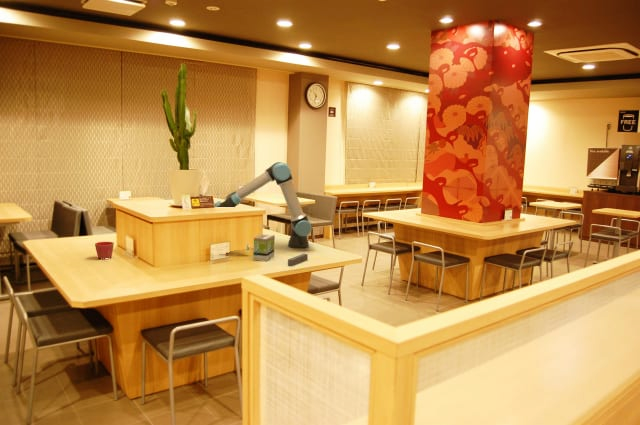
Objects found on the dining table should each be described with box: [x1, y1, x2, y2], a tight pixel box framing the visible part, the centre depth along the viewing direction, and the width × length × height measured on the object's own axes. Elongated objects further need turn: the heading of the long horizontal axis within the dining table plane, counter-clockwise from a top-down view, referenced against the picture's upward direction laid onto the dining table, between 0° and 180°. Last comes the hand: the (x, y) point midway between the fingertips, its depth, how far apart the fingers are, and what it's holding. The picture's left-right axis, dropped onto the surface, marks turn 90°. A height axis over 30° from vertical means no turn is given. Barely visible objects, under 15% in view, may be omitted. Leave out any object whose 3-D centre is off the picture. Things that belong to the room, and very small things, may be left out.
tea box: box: [252, 234, 276, 262], centre depth 329 cm, size 15×10×15 cm, turn 168°
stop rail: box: [287, 253, 309, 267], centre depth 320 cm, size 20×3×4 cm, turn 153°
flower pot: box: [94, 241, 114, 259], centre depth 320 cm, size 11×11×10 cm
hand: (249, 248), depth 335 cm, fingers closed
